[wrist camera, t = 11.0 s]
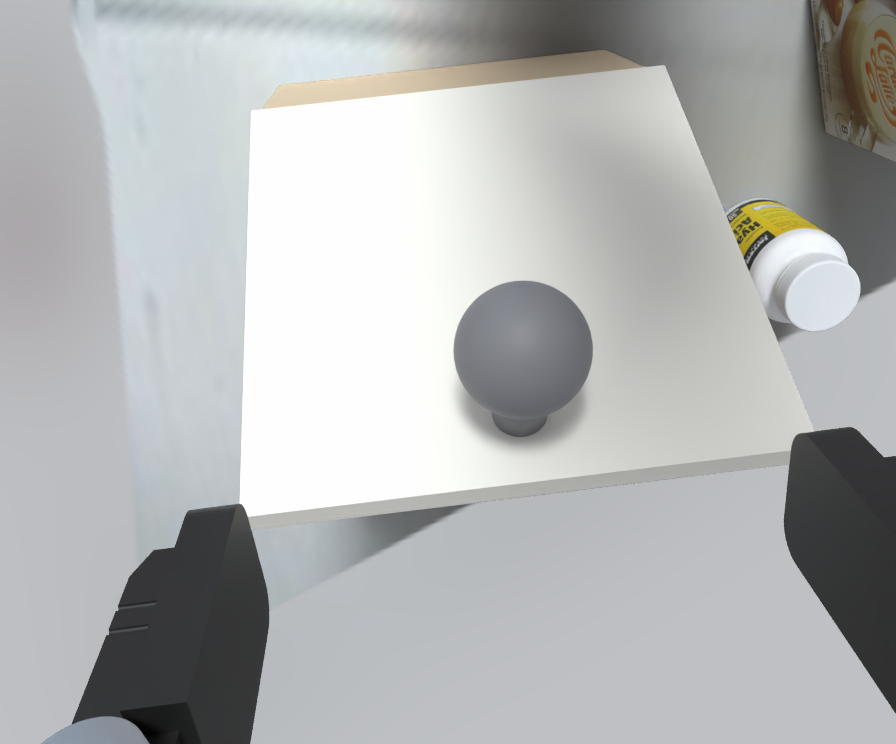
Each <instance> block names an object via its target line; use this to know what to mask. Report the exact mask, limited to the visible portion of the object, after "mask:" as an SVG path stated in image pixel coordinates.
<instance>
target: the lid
mask: <svg viewBox="0 0 896 744" xmlns="http://www.w3.org/2000/svg"><path fill="white" fill-rule="evenodd" d="M807 432H815V431H814V429H813V426H812V424H811V422H810V419H809V417H808V414H807V412H806V409H805V407H804V404H803V402H802V400H801V397H800V395H799V392H798V390H797V387H796V385H795V382H794V380H793V378H792V376H791V373H790V370H789V368H788V365H787V363H786V360H785V358H784V356H783V353H782V351H781V348H780V346H779V343H778V341H777V338H776V336H775V334H774V331H773V329H772V326H771V324H770V321H769V319H768V316H767V314H766V312H765V309H764V307H763V304H762V302H761V299H760V297H759V294H758V292H757V290H756V287H755V285H754V282H753V280H752V277H751V275H750V272H749V270H748V268H747V265H746V263H745V260H744V258H743V255H742V253H741V250H740V248H739V246H738V243H737V241H736V238H735V236H734V233H733V231H732V228H731V226H730V224H729V221H728V219H727V216H726V214H725V211H724V209H723V206H722V204H721V202H720V199H719V197H718V194H717V192H716V189H715V187H714V184H713V182H712V180H711V177H710V175H709V172H708V170H707V167H706V165H705V162H704V160H703V158H702V155H701V153H700V150H699V148H698V145H697V143H696V141H695V138H694V136H693V133H692V131H691V128H690V126H689V123H688V121H687V119H686V116H685V114H684V111H683V109H682V106H681V104H680V101H679V99H678V97H677V94H676V92H675V89H674V87H673V84H672V82H671V79H670V77H669V75H668V72H667V70H666V67H665V65H660V66H651V67H642V68H633V69H624V70H615V71H606V72H596V73H587V74H578V75H569V76H560V77H551V78H542V79H533V80H524V81H515V82H506V83H497V84H488V85H479V86H470V87H461V88H451V89H442V90H433V91H424V92H415V93H406V94H397V95H388V96H379V97H370V98H361V99H352V100H343V101H334V102H325V103H316V104H306V105H297V106H288V107H279V108H270V109H261V110H252V111H251V134H250V169H249V203H248V237H247V272H246V306H245V340H244V374H243V409H242V443H241V477H240V504H242V505H243V506H244V508H245V510H246V513H247V516H248V519H249V523H250V527H251V530H258V529H266V528H274V527H282V526H291V525H299V524H307V523H315V522H323V521H331V520H340V519H348V518H356V517H364V516H372V515H380V514H389V513H397V512H405V511H413V510H421V509H429V508H438V507H446V506H454V505H462V504H470V503H479V502H487V501H495V500H503V499H511V498H519V497H527V496H536V495H544V494H552V493H560V492H568V491H576V490H585V489H593V488H601V487H609V486H617V485H625V484H634V483H641V482H649V481H658V480H667V479H675V478H683V477H691V476H698V475H707V474H716V473H723V472H732V471H739V470H748V469H755V468H765V467H773V466H781V465H788V464H790V454H791V446H792V442H793V440H794V438H795V436H796V435H797V434H799V433H807Z"/></svg>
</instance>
